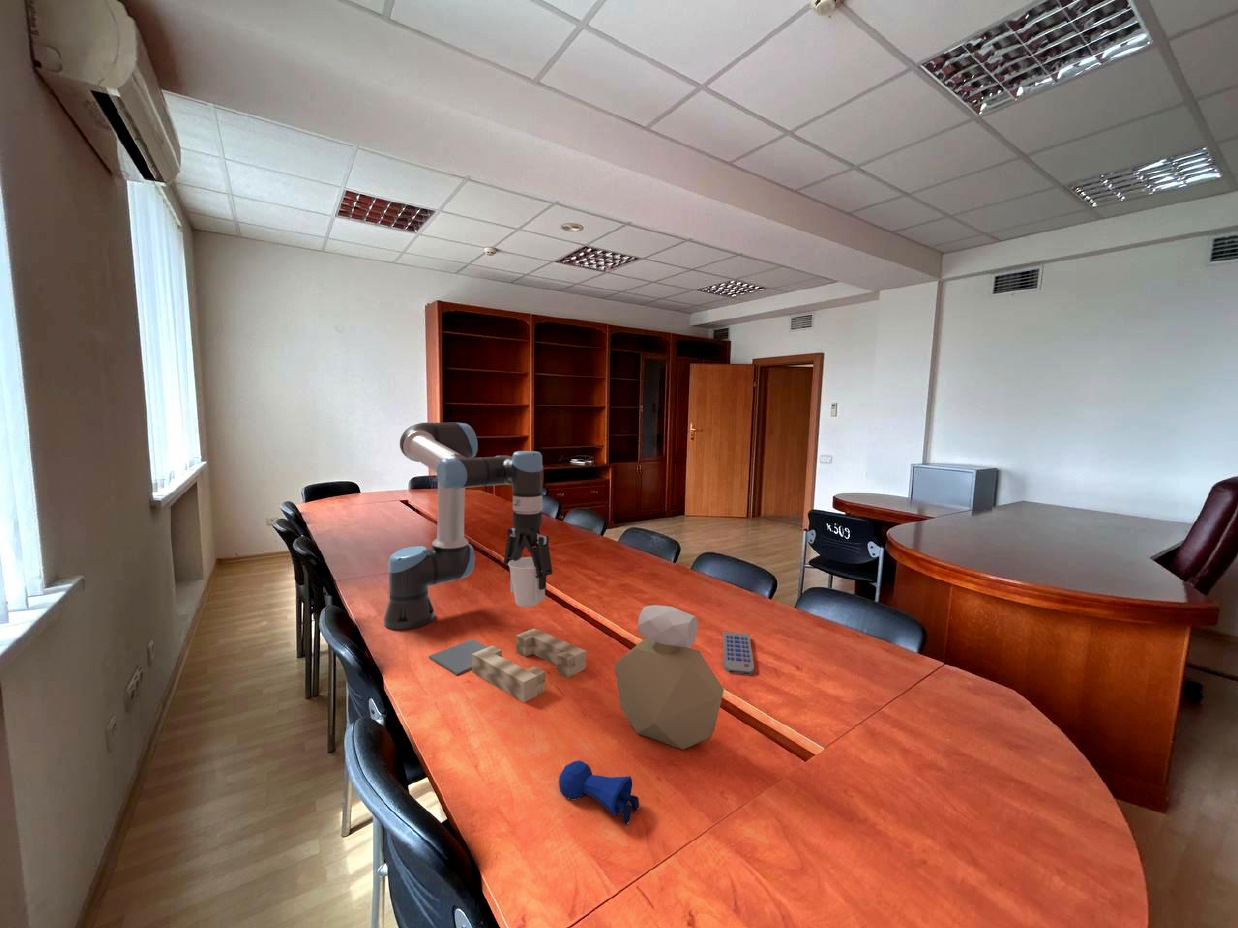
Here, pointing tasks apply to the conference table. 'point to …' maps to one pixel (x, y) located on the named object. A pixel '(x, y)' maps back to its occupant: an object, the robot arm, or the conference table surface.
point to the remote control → (737, 653)
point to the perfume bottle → (668, 680)
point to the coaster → (458, 656)
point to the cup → (523, 581)
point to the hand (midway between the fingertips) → (527, 595)
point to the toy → (599, 789)
